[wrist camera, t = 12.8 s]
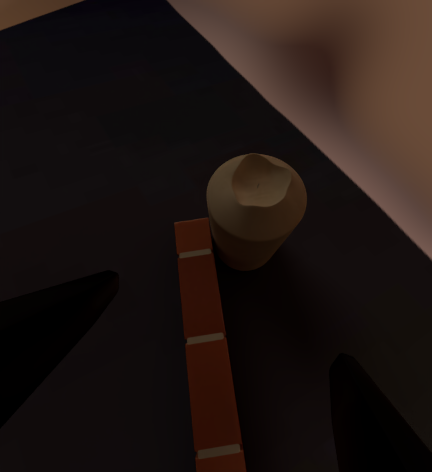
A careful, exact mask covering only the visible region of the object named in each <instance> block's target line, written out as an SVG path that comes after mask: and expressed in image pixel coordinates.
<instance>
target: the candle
mask: <svg viewBox="0 0 432 472" xmlns="http://www.w3.org/2000/svg"><path fill="white" fill-rule="evenodd" d="M306 204H307V195H306V190H305V186H304V184H303V182H302V180H301V178H300V177H299V175H298V174H297V173H296V171H295V170H294V169H293V168H291V167H290V166H289V165H288V164H286V163H285V162H283V161H281V160H279V159H277V158H274V157H271V156H268V155H262V154H254V153H251V154H248V155H242V156H238V157H236V158H233V159H231V160H229V161H227V162H226V163H224V164H223V165H222V166H220V167H219V168H218V169H217V170H216V171H215V173H214V174H213V176H212V177H211V179H210V181H209V184H208V188H207V205H208V211H209V217H210V223H211V229H212V235H213V241H214V246H215V250H216V252H217V255H218V256H219V258H220V259H221V260H222V261H223V262H224V263H225V264H226V265H227V266H229V267H231V268H233V269H236V270H240V271H250V270H254V269H257V268H259V267H261V266H263V265H264V264H265V263H266V262H267V261H268V260H269V259H270V258H271V257H272V255H273V254H274V253H275V252H276V251H277V249H278V248H279V247H280V246H281V244H282V243H283V242H284V241H285V239H286V238H287V237H288V236H289V234H290V233H291V232H292V231H293V229H294V228H295V227H296V226H297V224H298V223H299V222H300V220H301V219H302V217H303V215H304V212H305V209H306Z"/></svg>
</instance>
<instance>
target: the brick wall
mask: <svg viewBox="0 0 432 472" xmlns="http://www.w3.org/2000/svg"><path fill="white" fill-rule="evenodd" d="M174 226H175V238H176V249H177V255H178V256H179V258H178V259H177V260H178V272H179V283H180V294H181V305H182V316H183V328H184V338H185V340H187V343H186V344H185V350H186V361H187V372H188V383H189V394H190V406H191V417H192V428H193V439H194V450H195V452H197V453H196V458H195V463H196V472H247V466H246V459H245V452H244V446H243V439H242V433H241V426H240V419H239V413H238V406H237V400H236V393H235V387H234V380H233V373H232V367H231V360H230V354H229V347H228V341H227V334H226V327H225V321H224V314H223V308H222V301H221V296H220V288H219V281H218V275H217V268H216V262H215V255H214V248H213V242H212V236H211V230H210V224H209V219H208V218H202V219H196V220H189V221H183V222H176V223H174Z"/></svg>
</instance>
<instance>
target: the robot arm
mask: <svg viewBox="0 0 432 472" xmlns="http://www.w3.org/2000/svg"><path fill="white" fill-rule="evenodd" d="M118 289H119V275H118V273H116V272H113V271H110V270H107V271H104V272H100V273H97V274H94V275H90V276H87V277H83V278H80V279H77V280H73V281H70V282H66V283H63V284H60V285H56V286H53V287H50V288H46V289H43V290H39V291H36V292H33V293H29V294H26V295H22V296H19V297H16V298H12V299H9V300H5V301H2V302H0V428H1V427H2V426H3V425H4V424H5V423H6V422H7V420H8V419H9V418H10V417H11V416H12V415H13V414H14V413H15V412H16V410H17V409H18V408H19V407H20V406H21V405H22V404H23V403H24V402H25V400H26V399H27V398H28V397H29V396H30V395H31V394H32V393H33V392H34V390H35V389H36V388H37V387H38V386H39V385H40V384H41V383H42V382H43V380H44V379H45V378H46V377H47V376H48V375H49V374H50V373H51V372H52V370H53V369H54V368H55V367H56V366H57V365H58V364H59V363H60V362H61V360H62V359H63V358H64V357H65V356H66V355H67V354H68V353H69V352H70V350H71V349H72V348H73V347H74V346H75V345H76V344H77V343H78V341H79V340H80V339H81V338H82V337H83V336H84V335H85V334H86V333H87V331H88V330H89V329H90V328H91V327H92V326H93V325H94V323H95V322H96V321H97V320H98V318H99V317H100V315H101V314H102V313H103V311H104V310H105V309H106V307H107V306H108V305H109V303H110V302H111V301H112V299H113V298H114V297H115V295H116V294H117V292H118ZM329 378H330V398H331V416H332V426H333V433H334V440H335V446H336V453H337V460H338V466H339V472H432V453H431V451H430V450H429V449H428V448H427V446H426V445H425V444H424V443H423V442H422V440H421V439H420V438H419V437H418V435H417V434H416V433H415V432H414V430H413V429H412V428H411V427H410V426H409V424H408V423H407V422H406V421H405V419H404V418H403V417H402V416H401V414H400V413H399V412H398V411H397V410H396V408H395V407H394V406H393V405H392V403H391V402H390V401H389V400H388V398H387V397H386V396H385V395H384V394H383V392H382V391H381V390H380V389H379V387H378V386H377V385H376V384H375V382H374V381H373V380H372V379H371V378H370V376H369V375H368V374H367V373H366V371H365V370H364V369H363V368H362V366H361V365H360V364H359V363H358V361H357V360H356V359H355V358H354V357H352V356H349V355H347V354H344V353H341V354H339V355H338V357H337V358H336V359H335V361H334V362H333V364H332V365H331V367H330V370H329Z"/></svg>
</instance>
